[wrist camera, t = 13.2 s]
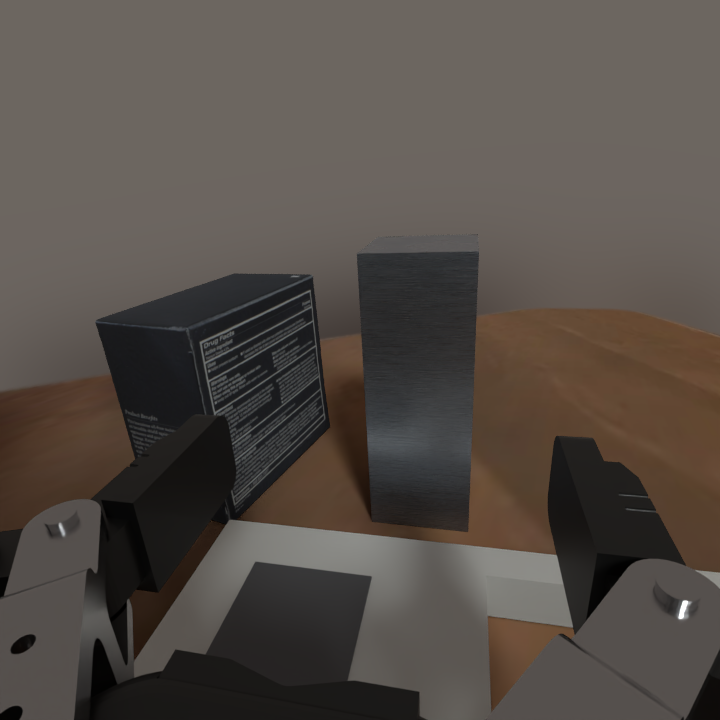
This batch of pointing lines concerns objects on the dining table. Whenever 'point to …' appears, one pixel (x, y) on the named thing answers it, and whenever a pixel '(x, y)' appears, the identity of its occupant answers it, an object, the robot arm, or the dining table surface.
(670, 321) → the dining table surface
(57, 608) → the robot arm
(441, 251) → the brushed metal pillar
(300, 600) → the white slotted plate
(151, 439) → the small box
